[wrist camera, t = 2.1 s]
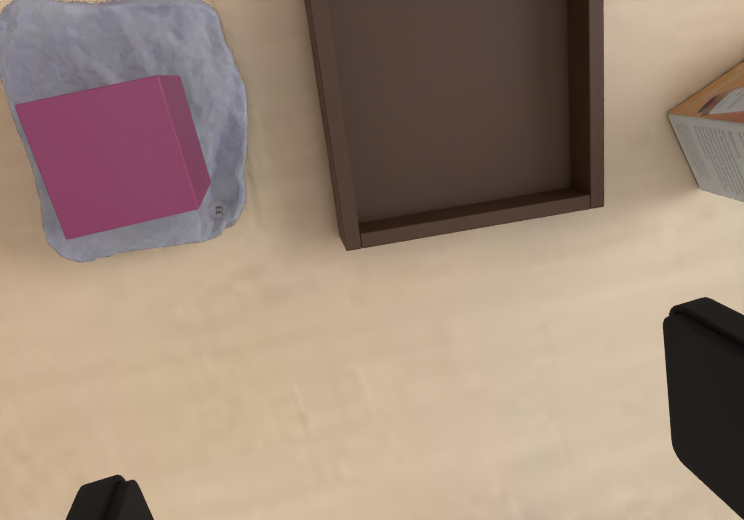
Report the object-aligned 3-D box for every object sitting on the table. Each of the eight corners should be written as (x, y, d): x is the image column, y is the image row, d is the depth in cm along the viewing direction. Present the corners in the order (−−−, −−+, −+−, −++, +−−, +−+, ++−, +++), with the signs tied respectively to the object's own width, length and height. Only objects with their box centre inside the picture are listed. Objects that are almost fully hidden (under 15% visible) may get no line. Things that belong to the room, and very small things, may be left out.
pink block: (104, 207, 27) (65, 240, 21) (65, 98, 25) (13, 105, 20) (211, 183, 27) (199, 209, 22) (179, 74, 26) (158, 74, 20)
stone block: (216, -11, 30) (-9, 5, 27) (231, -23, 26) (-34, -5, 23) (255, 217, 34) (64, 254, 31) (274, 239, 30) (54, 285, 27)
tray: (339, 237, 33) (346, 251, 30) (289, -104, 28) (291, -122, 25) (578, 196, 35) (604, 206, 32) (573, -132, 29) (603, -152, 27)
